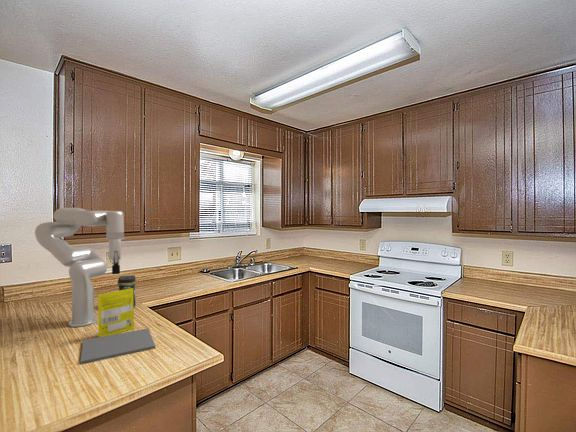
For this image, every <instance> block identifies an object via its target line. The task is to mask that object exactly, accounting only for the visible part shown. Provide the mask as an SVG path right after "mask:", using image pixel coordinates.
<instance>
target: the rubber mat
mask: <svg viewBox="0 0 576 432" xmlns="http://www.w3.org/2000/svg"><path fill="white" fill-rule="evenodd" d="M152 349H156V345H155V342H154V340H153V337H152V335H151V331H150V329H149V328H142V329H137V330H133V331H132V330H130V331H125V332H122V333H118V334H114V335H109V336H103V337H99V336H98V337H93V338H88V339H83V340H82V348H81V355H80V365H84V364H88V363H92V362H97V361H98V362H99V361H102V360H107V359H111V358H116V357H120V356H126V355H130V354H135V353H139V352H143V351H144V352H145V351H148V350H152Z"/></svg>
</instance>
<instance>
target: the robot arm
mask: <svg viewBox="0 0 576 432" xmlns="http://www.w3.org/2000/svg"><path fill="white" fill-rule="evenodd" d="M124 217H125V214H124V212H123V211H121V210H86V209H84V208H81V207H60V208H58V209H56V210H55V211H54V212H53V219H54V220H55V221H47V222H43V223H39V224H38V225H37V226H36V228H35V229H34V234H35V238H36V241H37V243H39V245H40V246H41V247H42V248H43V249H45V251H46V250H47V252H49V253H50V254H51V255H53V257H54V258H55V259H56V260H57V261H58V262H60V264H62V265H63V266H64V267H66V268H68V267H69V268H68V275H69V279H70V284H71V320H69V321H68V324H67V325H68V327H73V328H75V327H76V328H78V327H79V328H80V327H86V326H89V325H93V324H95V323H97V322H99V319H98V316H96V315H95V286H94V284H93V281H91V279H92V278H97V277H100V276H103V275H105V274H106V272H107V271H108V265H107V262H106V261H105V260H104V259H103V257H101V256H100V255H99V254H98V253H97V252H96V251H95V250H94V249H93V248H91V247H88V246H77V247H76V246H72V245H71V244H69V243H68V242H67V241H65V240H64V239H61V238H66V237H71V236H74V235H75V233H76V232H77V231H78V230H79V229H80V228H81V227H102V226H103V227H104V226H105V227H106V228H105V232H106V233H105V234H106V240H107V241H108V260H109V261H112V266H111V274H112V275H119V274H121V273H120V272H121V266H120V260H121V259H122V240H124V239H125V224H124V223H125V219H124Z"/></svg>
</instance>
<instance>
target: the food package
mask: <svg viewBox="0 0 576 432" xmlns="http://www.w3.org/2000/svg"><path fill="white" fill-rule="evenodd" d="M97 299H98V301H97V304H98V307H97V308H98V313H97V314H98V316H97V317H98V337H103V336H109V335H114V334H120V333H125V332H129V331H132V330H134V328H135V327H134V326H135V323H134V322H135V319H134V317H135V316H134V315H135V313H134V307H135V306H133V288H131V289H126V290H120V291H119V290H116V291H111V292H105V293H100V294H98V297H97Z"/></svg>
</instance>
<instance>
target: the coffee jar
mask: <svg viewBox="0 0 576 432" xmlns="http://www.w3.org/2000/svg"><path fill="white" fill-rule="evenodd" d="M136 284H137V280H136V275H134V274H133V275H131V274H130V275H120V276H119V277H118V279H117V285H118V286H117V287H118V291H120V290H126V289H131V288H133V306H134V307H136V305H137V298H136Z"/></svg>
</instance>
